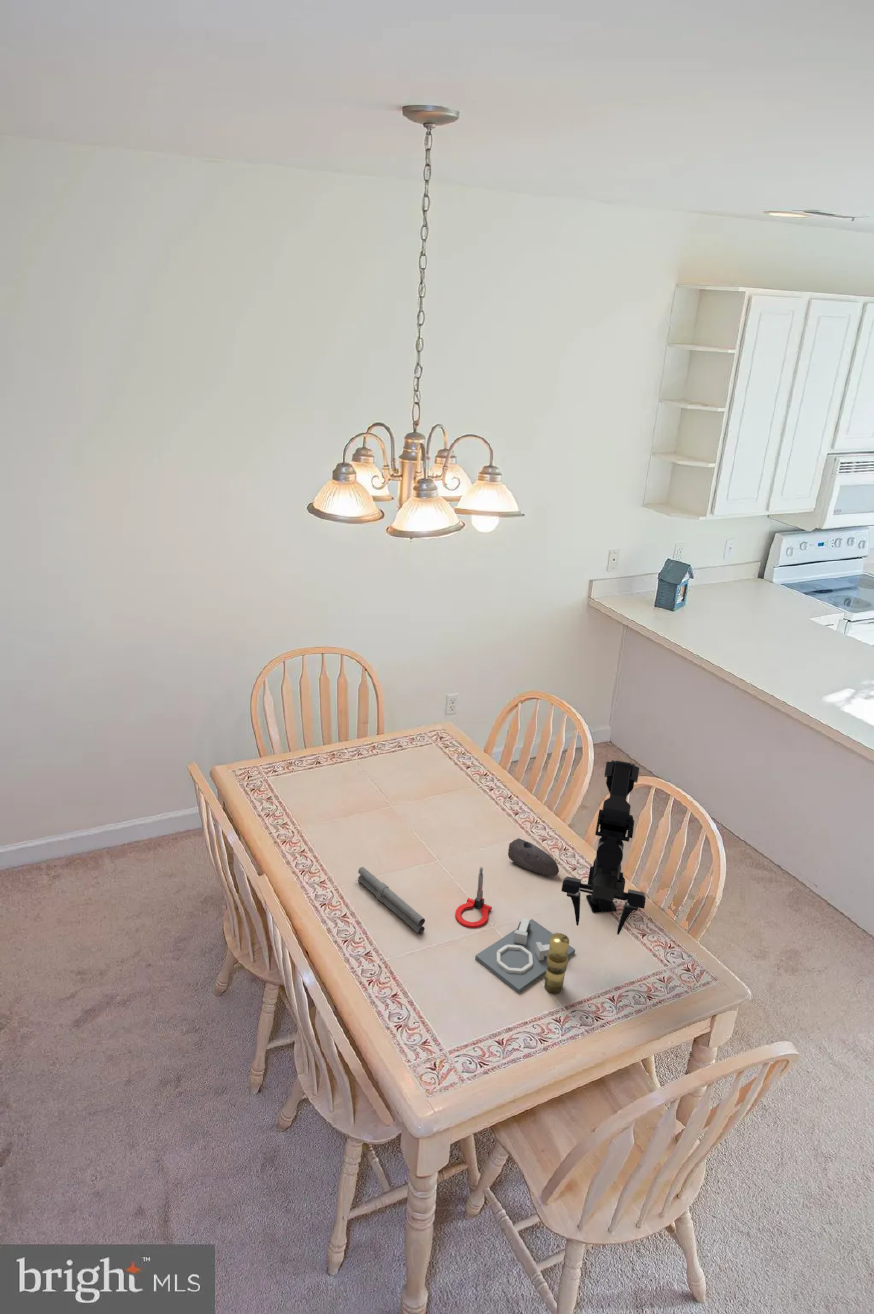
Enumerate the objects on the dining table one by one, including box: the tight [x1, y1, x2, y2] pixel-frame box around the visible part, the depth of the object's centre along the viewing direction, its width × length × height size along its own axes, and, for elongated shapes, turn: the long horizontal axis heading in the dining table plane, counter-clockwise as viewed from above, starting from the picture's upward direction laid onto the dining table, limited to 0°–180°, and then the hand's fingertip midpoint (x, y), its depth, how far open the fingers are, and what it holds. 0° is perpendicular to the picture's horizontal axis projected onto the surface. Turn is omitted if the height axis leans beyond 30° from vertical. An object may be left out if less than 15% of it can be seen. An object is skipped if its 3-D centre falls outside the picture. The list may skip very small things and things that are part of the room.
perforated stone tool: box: [507, 837, 560, 877], centre depth 239 cm, size 15×5×7 cm, turn 54°
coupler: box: [543, 932, 570, 995], centre depth 198 cm, size 5×5×14 cm
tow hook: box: [454, 866, 493, 929], centre depth 219 cm, size 8×13×9 cm
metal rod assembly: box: [357, 866, 426, 935], centre depth 223 cm, size 26×3×5 cm, turn 41°
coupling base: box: [475, 917, 576, 994], centre depth 209 cm, size 20×14×4 cm
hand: (597, 929), depth 200 cm, fingers open, 9 cm apart
